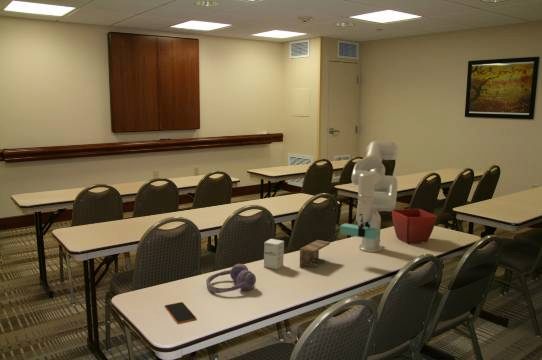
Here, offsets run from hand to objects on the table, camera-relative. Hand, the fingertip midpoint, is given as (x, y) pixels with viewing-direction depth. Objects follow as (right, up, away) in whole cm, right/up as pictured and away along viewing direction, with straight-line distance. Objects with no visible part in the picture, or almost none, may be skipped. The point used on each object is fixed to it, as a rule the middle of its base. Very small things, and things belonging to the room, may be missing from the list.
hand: (363, 234), depth 227 cm
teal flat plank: (-2, -1, +2) cm, 3 cm away
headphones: (-63, -20, -28) cm, 72 cm away
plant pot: (+37, -9, +46) cm, 60 cm away
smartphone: (-79, -23, -53) cm, 99 cm away
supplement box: (-44, -15, -2) cm, 47 cm away
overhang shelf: (-24, -15, +3) cm, 28 cm away
